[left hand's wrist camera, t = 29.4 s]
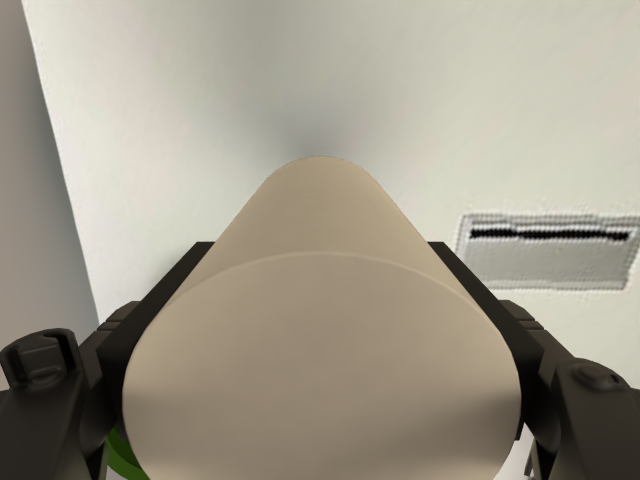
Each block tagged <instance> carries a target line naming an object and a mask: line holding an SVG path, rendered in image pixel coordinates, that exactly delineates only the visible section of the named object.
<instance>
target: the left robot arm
mask: <svg viewBox="0 0 640 480" xmlns="http://www.w3.org/2000/svg"><path fill="white" fill-rule="evenodd" d="M214 243H215V242H196V243H195V244H194V246H193V247H192V248H191V249H190V250H189V251H188V252H187V253H186V254H185V255H184V256H183V257H182V258H181V259H180V260H179V261H178V262H177V263H176V265H175V266H174V267H173V268H172V269H171V270H170V271H169V272H168V273H167V274H166V275H165V276H164V277H163V278H162V279H161V280H160V281H159V282H158V284H157V285H156V286H155V287H154V288H153V289H152V290H151V291H150V292H149V293H148V294H147V295H146V296H145V297H144V298H143V299H142V300H141V301H131V302H129V303H128V304H126V305H124V306H122V307H121V308H119V309H117V310H116V311H115V312H114V313H113V314H112V315H111V316H110V317H108V318H107V319H106V322H103V323H102V324H101V325H100V326H99V327H98V328H97V331H94V332H93V333H92V334H91V335H90V336H89V337H88V338H87V339H86V340H85V341H84V342H83V343H82V344H81V345H80V346H79V347H78V344H77V341H76V338H75V334H74V333H73V332H72V331H71V330H69V329H63V328H55V329H46V330H42V331H39V332H35V333H32V334H29V335H27V336H24V337H22V338H20V339H17V340H16V341H14V342H13V343H11V344H9V345H8V346H6V347H5V348H4V349H3V350H2V351H1V352H0V364H1V367H2V369H3V371H4V374H5V376H6V379H7V381H8V384H9V386H10V388H9V390H4V391H0V480H106V472H107V465H108V457H109V448H108V443H107V440H106V438H107V436H108V435H109V433H110V432H111V430H112V429H113V427H114V425H115V424H117V428H118V432H119V435H120V439H121V440H128V437H127V434H126V431H125V426H124V420H123V414H122V390H123V384H124V379H125V374H126V369H127V366H128V363H129V361H130V358H131V355H132V353H133V350H134V348H135V346H136V344H137V343H138V341H139V339H140V338H141V336H142V334H143V333H144V331H145V329H146V328H147V327H148V325H149V324H150V323H151V322H152V320H153V319H154V318H155V317H156V315H157V314H158V313H159V312H160V310H161V309H162V308H163V307H164V305H165V304H166V303H167V302H168V301H169V299H170V298H171V297H172V296H173V294H174V293H175V292H176V291H177V289H178V288H179V287H180V286H181V284H182V283H183V282H184V281H185V279H186V278H187V277H188V276H189V274H190V273H191V272H192V271H193V269H194V268H195V267H196V266H197V264H198V263H199V262H200V261H201V259H202V258H203V257H204V256H205V255H206V253H207V252H208V251H209V250H210V248H211V247H212V246H213V245H214ZM427 243H428V244H429V246H430V247H431V248H432V249H433V250H434V252H435V253H436V254H437V255H438V257H439V258H440V259H441V260H442V261H443V263H444V264H445V265H446V266H447V268H448V269H449V270H450V271H451V272H452V274H453V275H454V276H455V277H456V279H457V280H458V281H459V282H460V283H461V285H462V286H463V287H464V288H465V290H466V291H467V292H468V293H469V294H470V296H471V297H472V298H473V299H474V301H475V302H476V303H477V304H478V305H479V307H480V308H481V309H482V310H483V312H484V313H485V314H486V315H487V317H488V318H489V319H490V320H491V322H492V323H493V324H494V325H495V327H496V328H497V329H498V330H499V332H500V333H501V335H502V337H503V339H504V340H505V342H506V344H507V346H508V348H509V350H510V351H511V354H512V357H513V360H514V363H515V366H516V369H517V371H518V377H519V383H520V390H521V416H520V421H519V426H518V431H517V435H516V438H515V441H519V440H520V436H521V432H522V429H523V425H524V422H525V423H526V425H527V426H528V428H529V429H530V431H531V432H532V434H533V435H534V440H533V443H532V447H531V450H530V453H529V456H528V460H527V463H526V466H525V472H524V475H526V476H530V473H531V470H532V468H533V471H534V479H535V480H640V390H639V389H634V388H631V387H630V386H629V385H628V384H627V382H626V381H625V380H624V379H623V378H622V377H621V376H619V375H618V374H617V373H615V372H614V371H613V370H611V369H609V368H607V367H605V366H603V365H601V364H599V363H596V362H593V361H590V360H587V359H583V358H575V357H574V356H573V355H572V354H571V353H570V352H569V351H568V350H567V349H565V348H564V347H563V346H562V345H561V344H560V343H559V342H558V341H557V340H556V339H555V338H554V337H553V336H552V335H551V334H550V333H549V332H548V331H547V330H544V327H543V326H542V325H541V324H540V323H539V322H537V321H535V319H534V318H533V317H532V316H531V315H530V314H529V313H528V312H527V311H526V310H525V309H524V308H522V307H520V306H518V305H517V304H515V303H513V302H511V301H510V300H498V299H497V298H496V297H495V296H494V295H493V294H492V293H491V292H490V291H489V290H488V289H487V288H486V286H485V285H484V284H483V283H482V282H481V281H480V280H479V279H478V278H477V277H476V276H475V275H474V274H473V273H472V272H471V271H470V270H469V269H468V267H467V266H466V265H465V264H464V263H463V262H462V261H461V260H460V259H459V258H458V257H457V256H456V255H455V254H454V253H453V252H452V251H451V250H450V248H449V247H448V246H447V245H446V244H445V243H444V242H427Z"/></svg>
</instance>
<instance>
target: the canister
mask: <svg viewBox="0 0 640 480" xmlns="http://www.w3.org/2000/svg"><path fill="white" fill-rule="evenodd" d="M122 414H123V420H124V426H125V431H126V434H127V437H128V440H129V443H130V446H131V449H132V451H133V453H134V455H135V456H136V458H137V460H138V462H139V464H140V466H141V467H142V469H143V470H144V472H145V473H146V474H147V476H148V477H149V478H150V480H493V478H494V477H495V476H496V474H497V473H498V472H499V471H500V469H501V467H502V466H503V464H504V462H505V460H506V459H507V457H508V455H509V453H510V451H511V448H512V446H513V443H514V440H515V438H516V435H517V431H518V426H519V421H520V416H521V390H520V383H519V377H518V371H517V369H516V366H515V363H514V360H513V357H512V354H511V351H510V350H509V348H508V346H507V344H506V342H505V340H504V339H503V337H502V335H501V333H500V332H499V330H498V329H497V328H496V327H495V325H494V324H493V323H492V322H491V320H490V319H489V318H488V317H487V315H486V314H485V313H484V312H483V310H482V309H481V308H480V307H479V305H478V304H477V303H476V302H475V301H474V299H473V298H472V297H471V296H470V294H469V293H468V292H467V291H466V290H465V288H464V287H463V286H462V285H461V283H460V282H459V281H458V280H457V279H456V277H455V276H454V275H453V274H452V272H451V271H450V270H449V269H448V268H447V266H446V265H445V264H444V263H443V261H442V260H441V259H440V258H439V257H438V255H437V254H436V253H435V252H434V250H433V249H432V248H431V247H430V246H429V244H428V243H427V242H426V241H425V239H424V238H423V237H422V236H421V235H420V233H419V232H418V231H417V230H416V228H415V227H414V226H413V225H412V224H411V222H410V221H409V220H408V219H407V217H406V216H405V215H404V214H403V213H402V211H401V210H400V209H399V208H398V206H397V205H396V204H395V203H394V202H393V200H392V199H391V198H390V197H389V195H388V194H387V193H386V192H385V191H384V189H383V188H382V187H381V186H380V184H379V183H378V182H377V181H376V180H375V179H374V178H373V177H372V176H371V175H370V174H369V173H368V172H366V171H365V170H364V169H362V168H361V167H359V166H357V165H355V164H353V163H351V162H348V161H346V160H343V159H339V158H334V157H326V156H316V157H307V158H302V159H299V160H296V161H293V162H290V163H288V164H286V165H284V166H282V167H281V168H279V169H278V170H276V171H275V172H274V173H273V174H271V175H270V176H269V177H268V178H267V179H266V180H265V181H264V183H263V184H262V185H261V186H260V187H259V189H258V190H257V191H256V192H255V194H254V195H253V196H252V197H251V199H250V200H249V201H248V202H247V204H246V205H245V206H244V207H243V209H242V210H241V211H240V212H239V213H238V215H237V216H236V217H235V218H234V220H233V221H232V222H231V223H230V225H229V226H228V227H227V228H226V230H225V231H224V232H223V233H222V235H221V236H220V237H219V238H218V240H217V241H216V242H215V243H214V245H213V246H212V247H211V248H210V250H209V251H208V252H207V253H206V255H205V256H204V257H203V258H202V259H201V261H200V262H199V263H198V264H197V266H196V267H195V268H194V269H193V271H192V272H191V273H190V274H189V276H188V277H187V278H186V279H185V281H184V282H183V283H182V284H181V286H180V287H179V288H178V289H177V291H176V292H175V293H174V294H173V296H172V297H171V298H170V299H169V301H168V302H167V303H166V304H165V305H164V307H163V308H162V309H161V310H160V312H159V313H158V314H157V315H156V317H155V318H154V319H153V320H152V322H151V323H150V324H149V325H148V327H147V328H146V329H145V331H144V333H143V334H142V336H141V338H140V339H139V341H138V343H137V344H136V346H135V348H134V350H133V353H132V355H131V358H130V361H129V363H128V366H127V369H126V374H125V379H124V384H123V390H122Z"/></svg>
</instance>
